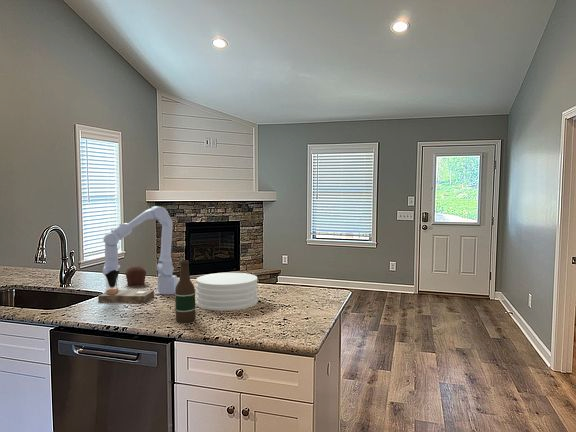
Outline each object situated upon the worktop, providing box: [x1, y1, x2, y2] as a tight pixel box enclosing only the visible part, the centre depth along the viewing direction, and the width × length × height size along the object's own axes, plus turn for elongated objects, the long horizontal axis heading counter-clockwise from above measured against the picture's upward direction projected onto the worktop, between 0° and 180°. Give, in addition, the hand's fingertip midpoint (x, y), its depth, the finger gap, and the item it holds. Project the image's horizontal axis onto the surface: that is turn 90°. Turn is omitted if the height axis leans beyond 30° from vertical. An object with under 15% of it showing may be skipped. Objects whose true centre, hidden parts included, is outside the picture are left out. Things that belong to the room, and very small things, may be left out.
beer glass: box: [103, 262, 119, 293], centre depth 223 cm, size 7×7×15 cm
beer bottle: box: [174, 259, 196, 324], centre depth 173 cm, size 8×8×24 cm
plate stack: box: [195, 272, 259, 312], centre depth 202 cm, size 28×28×12 cm
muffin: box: [124, 265, 147, 287], centre depth 242 cm, size 12×11×10 cm
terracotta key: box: [105, 287, 119, 294], centre depth 209 cm, size 4×4×3 cm
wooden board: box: [97, 289, 155, 304], centre depth 209 cm, size 22×12×3 cm, turn 87°
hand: (112, 286), depth 209 cm, fingers closed
